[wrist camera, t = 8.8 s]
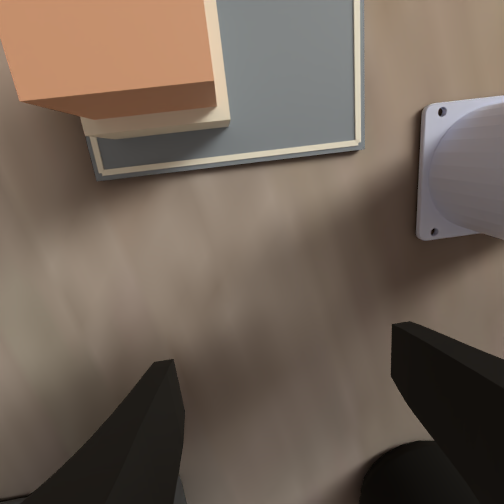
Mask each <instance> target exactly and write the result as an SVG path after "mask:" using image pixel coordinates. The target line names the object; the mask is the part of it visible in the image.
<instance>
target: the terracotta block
mask: <svg viewBox="0 0 504 504" xmlns="http://www.w3.org/2000/svg"><path fill="white" fill-rule="evenodd" d="M0 38H1V42H2V45H3V48H4V51H5V55H6V58H7V61H8V65H9V68H10V71H11V74H12V78H13V81H14V84H15V87H16V91H17V94H18V97H19V100H20V101H21V102H25V103H29V104H33V105H36V106H40V107H44V108H48V109H52V110H56V111H60V112H64V113H68V114H72V115H76V116H80V117H84V118H88V119H92V120H98V119H107V118H116V117H125V116H134V115H143V114H152V113H161V112H170V111H179V110H188V109H197V108H206V107H215V106H217V101H216V92H215V83H214V75H213V68H212V60H211V53H210V45H209V38H208V30H207V23H206V15H205V8H204V0H0Z"/></svg>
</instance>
